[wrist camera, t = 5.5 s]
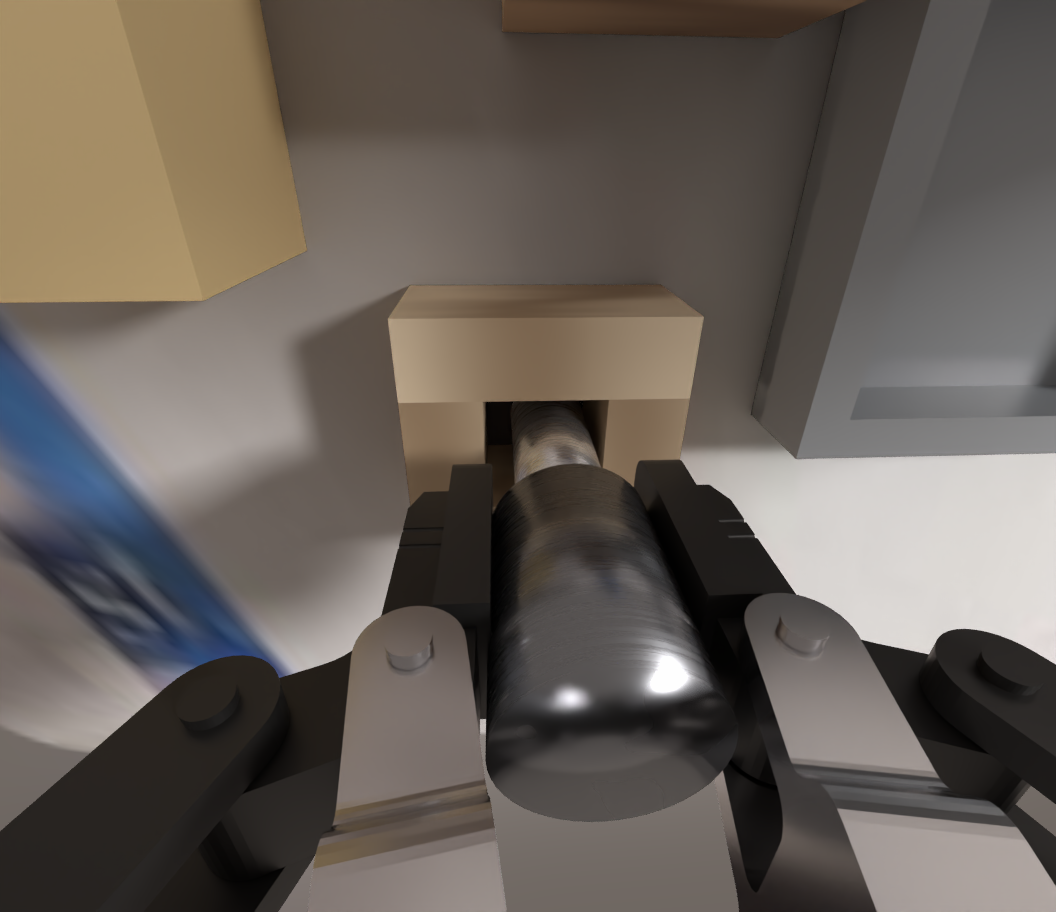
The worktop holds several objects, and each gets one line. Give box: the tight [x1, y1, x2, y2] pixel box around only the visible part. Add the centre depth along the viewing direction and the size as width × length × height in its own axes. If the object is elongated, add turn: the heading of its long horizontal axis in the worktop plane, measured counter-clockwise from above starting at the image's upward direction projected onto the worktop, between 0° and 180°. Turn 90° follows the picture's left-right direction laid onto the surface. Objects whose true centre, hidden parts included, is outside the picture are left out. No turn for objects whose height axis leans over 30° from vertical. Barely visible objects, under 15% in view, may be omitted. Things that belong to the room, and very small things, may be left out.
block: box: [0, 0, 307, 303], centre depth 8 cm, size 6×6×5 cm
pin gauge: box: [486, 400, 738, 822], centre depth 10 cm, size 3×3×9 cm
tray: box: [751, 0, 1056, 459], centre depth 11 cm, size 10×10×2 cm
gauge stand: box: [388, 285, 704, 510], centre depth 13 cm, size 6×6×3 cm
